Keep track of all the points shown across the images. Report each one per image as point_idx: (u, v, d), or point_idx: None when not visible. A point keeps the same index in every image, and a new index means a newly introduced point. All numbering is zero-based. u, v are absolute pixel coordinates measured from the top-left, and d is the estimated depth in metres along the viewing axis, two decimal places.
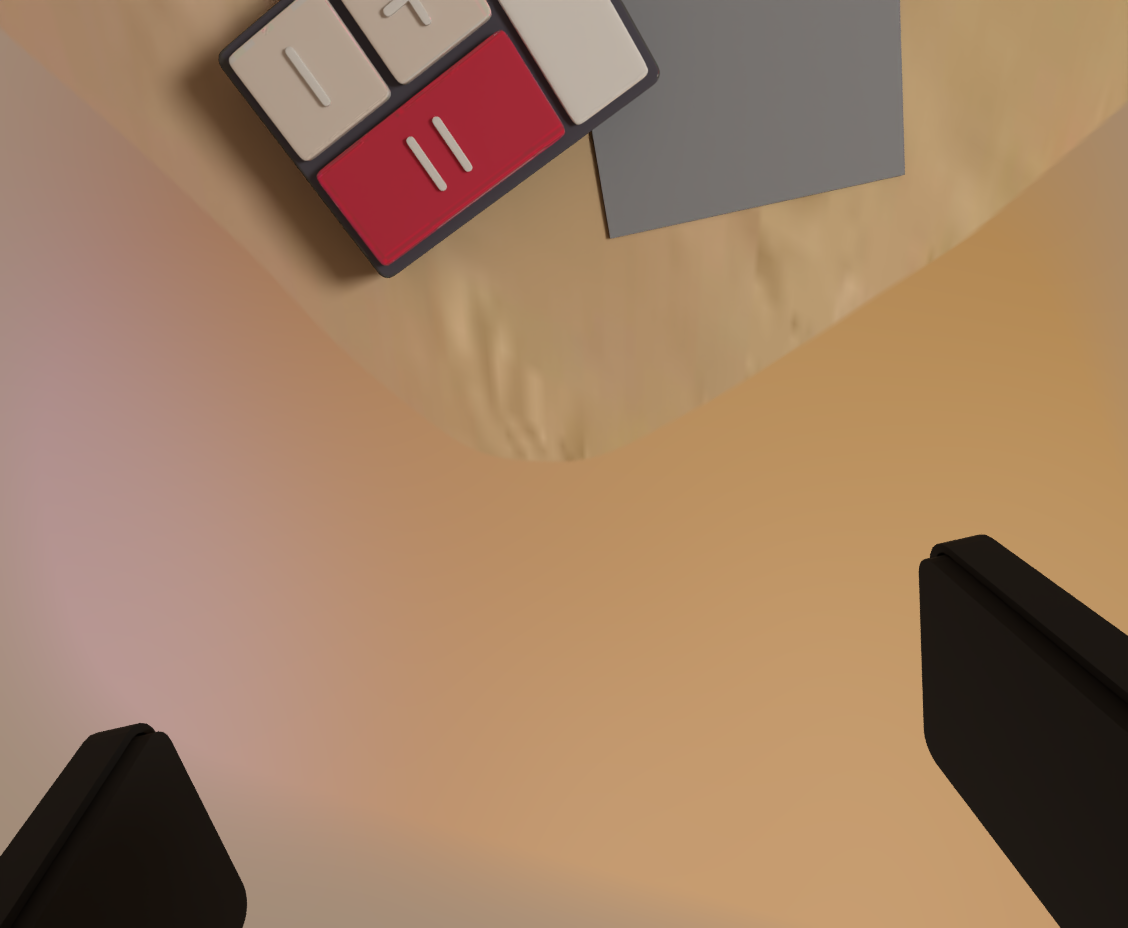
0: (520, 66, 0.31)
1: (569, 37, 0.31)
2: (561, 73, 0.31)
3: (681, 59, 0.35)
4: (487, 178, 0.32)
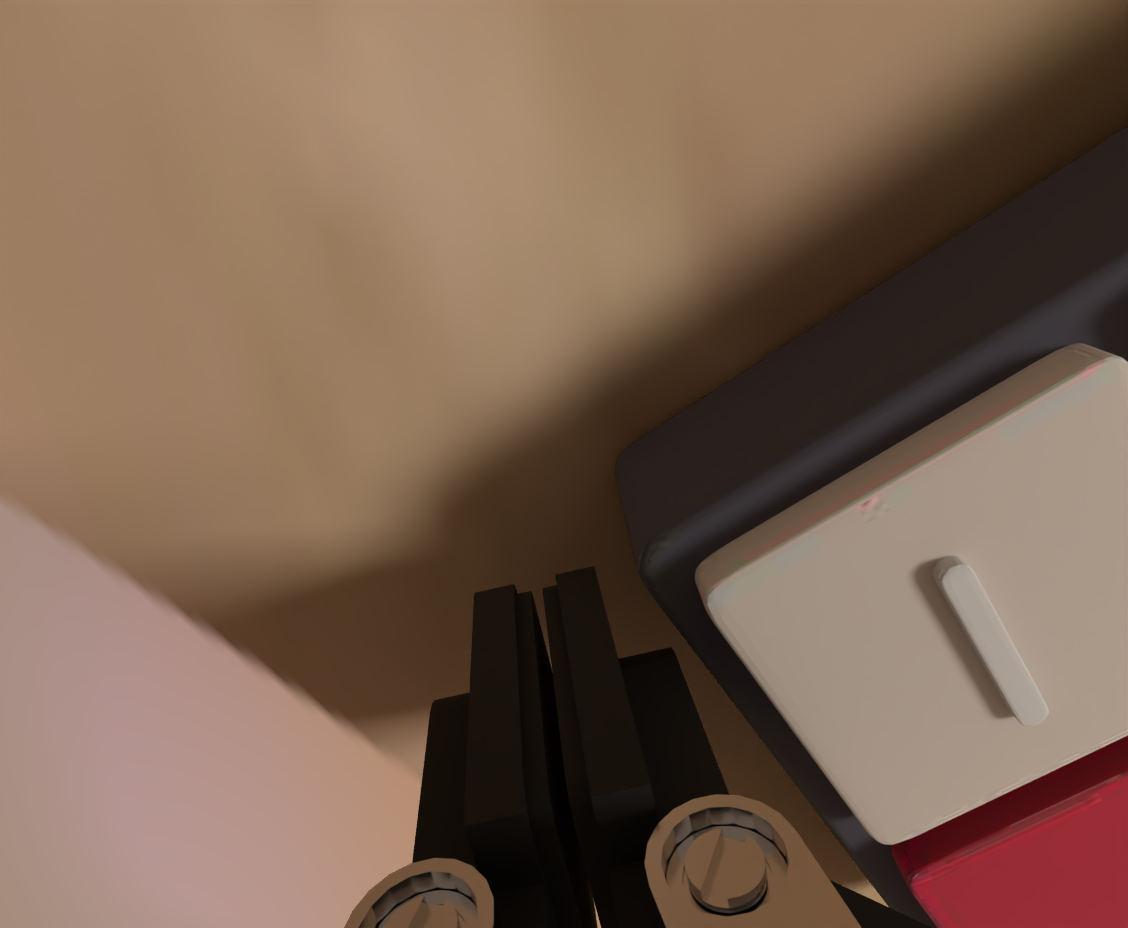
0: None
1: None
2: None
3: None
4: None
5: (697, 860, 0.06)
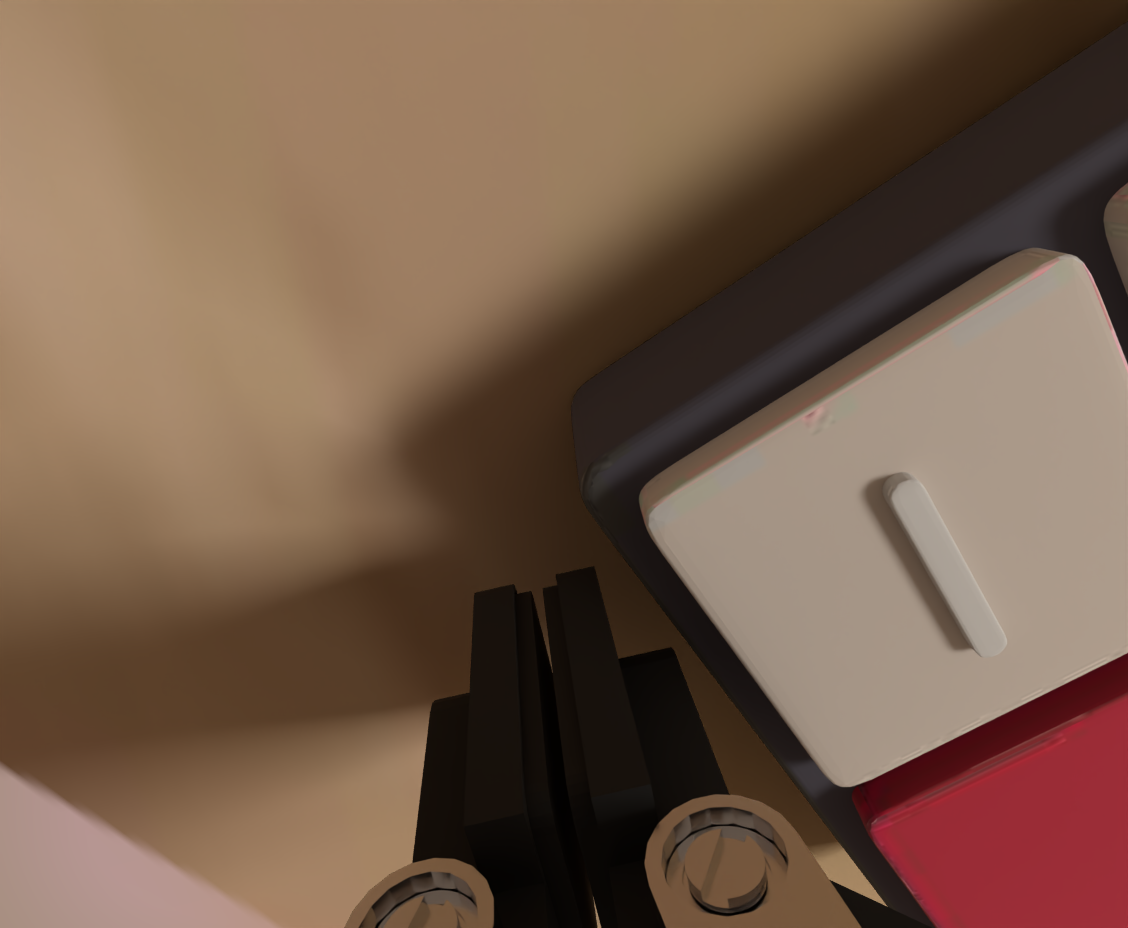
0: None
1: None
2: None
3: None
4: None
5: (697, 860, 0.06)
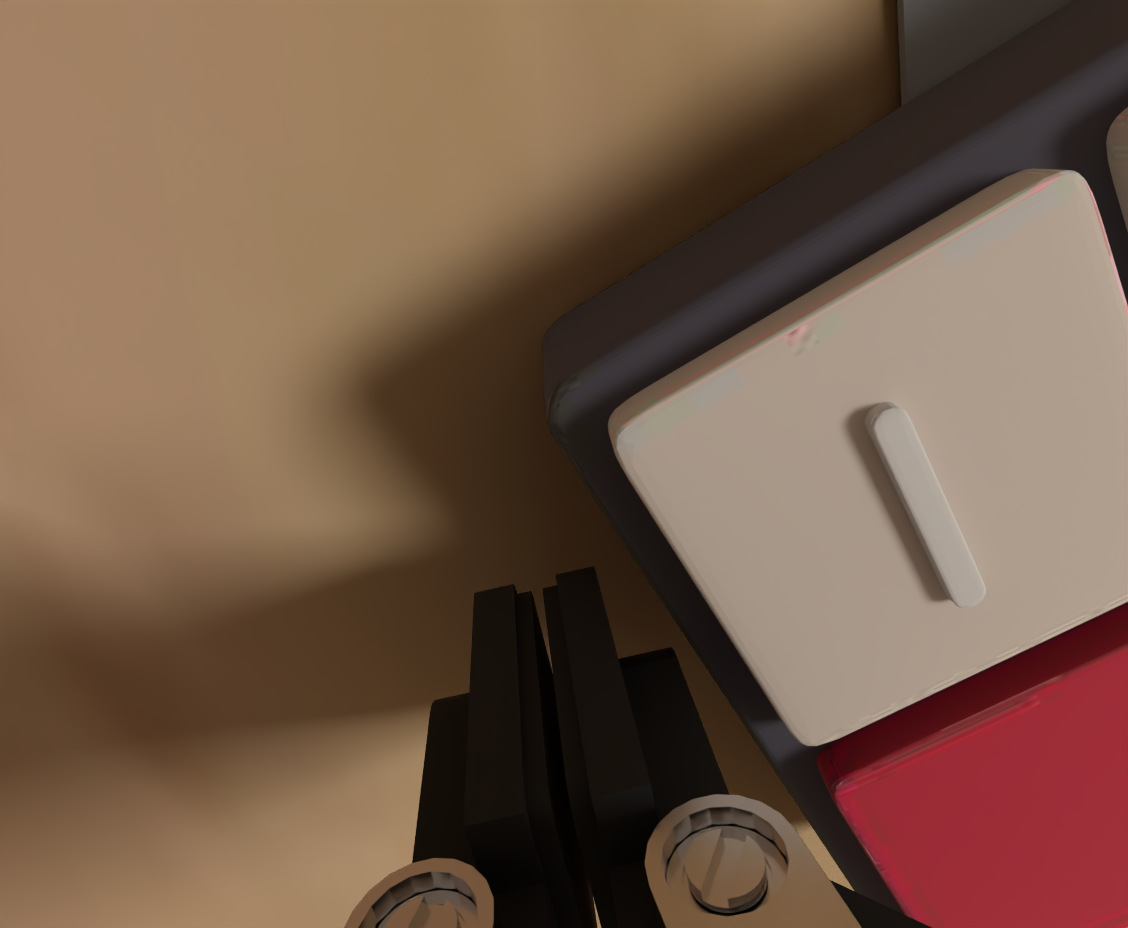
0: None
1: None
2: None
3: None
4: None
5: (697, 860, 0.06)
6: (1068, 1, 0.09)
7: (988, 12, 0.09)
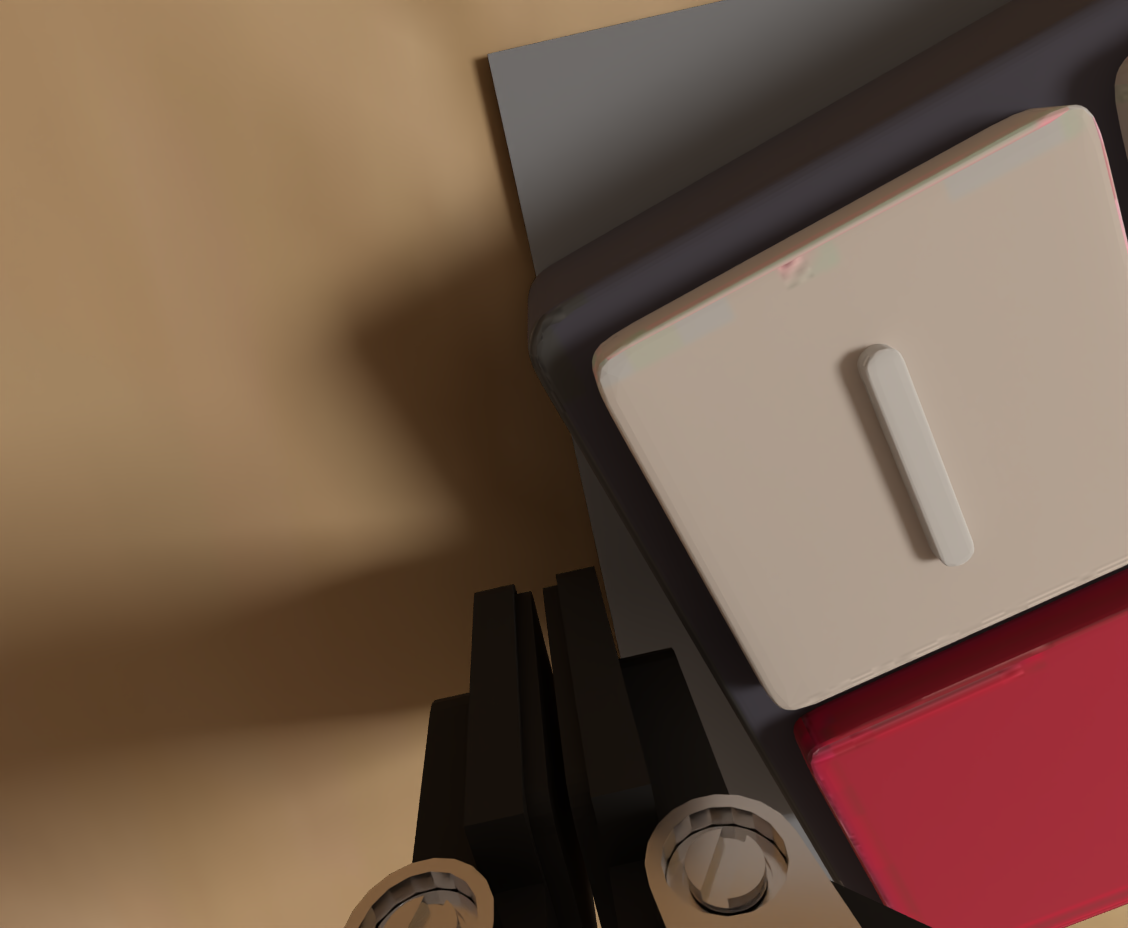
0: None
1: None
2: None
3: None
4: None
5: (697, 860, 0.06)
6: (670, 100, 0.09)
7: (594, 110, 0.09)
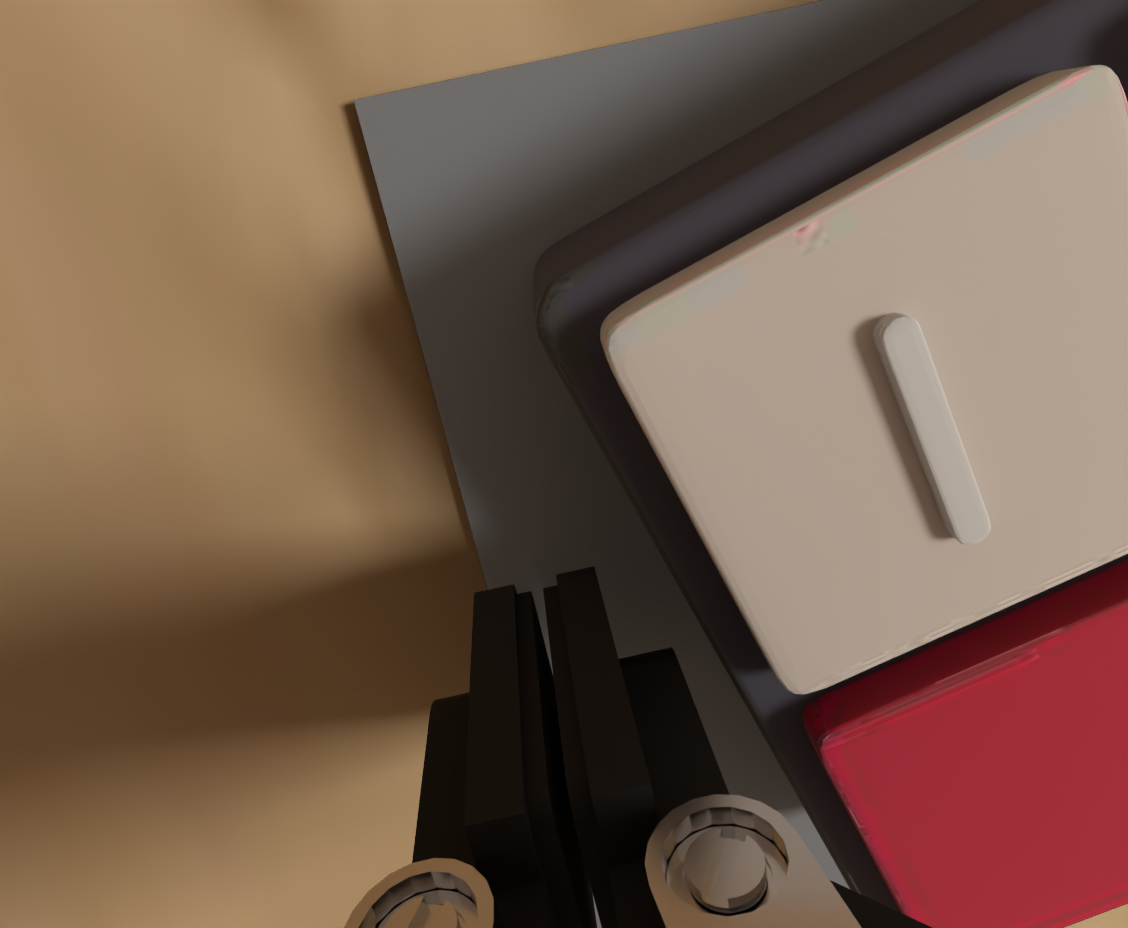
0: None
1: None
2: None
3: None
4: None
5: (697, 860, 0.06)
6: (542, 147, 0.09)
7: (466, 156, 0.09)
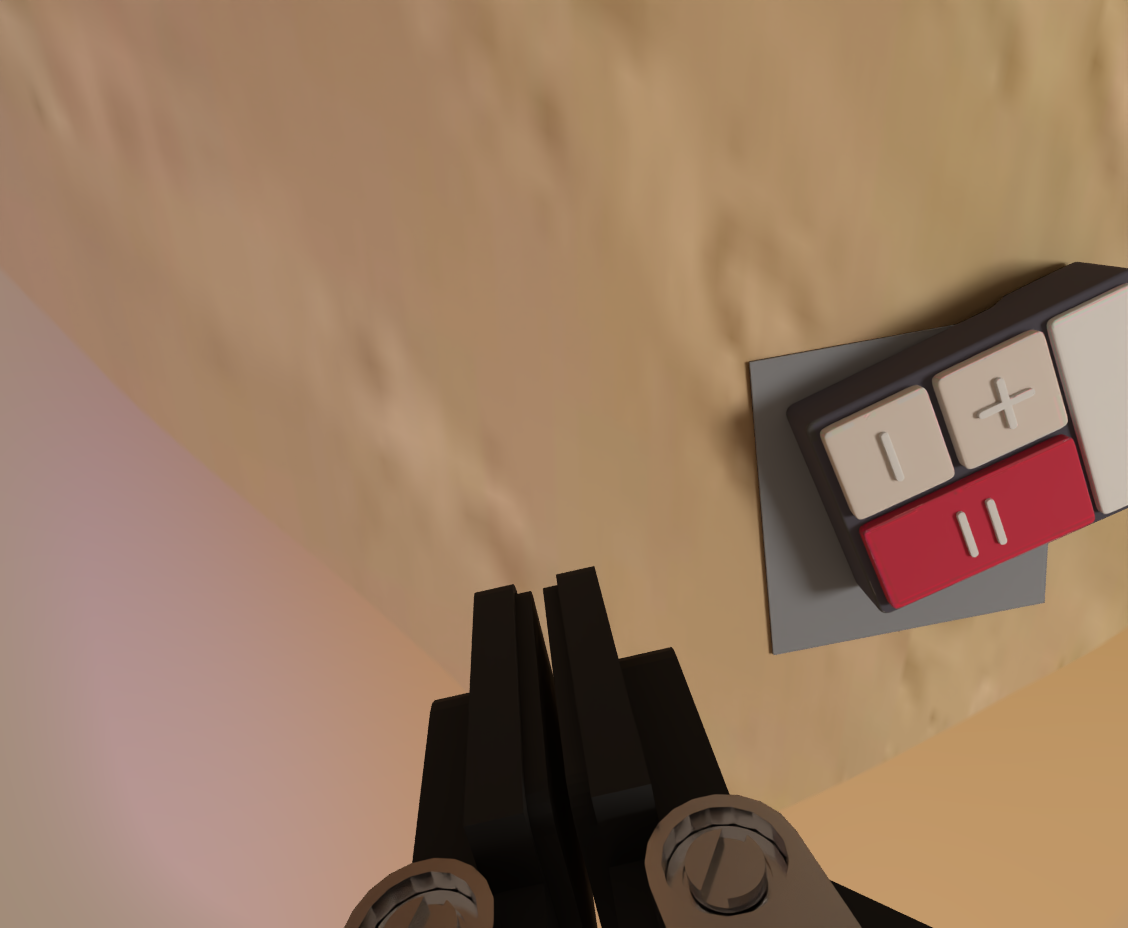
0: (1076, 467, 0.34)
1: (1122, 446, 0.34)
2: (1105, 474, 0.34)
3: None
4: (1014, 549, 0.35)
5: (696, 860, 0.06)
6: (794, 374, 0.35)
7: (774, 375, 0.35)
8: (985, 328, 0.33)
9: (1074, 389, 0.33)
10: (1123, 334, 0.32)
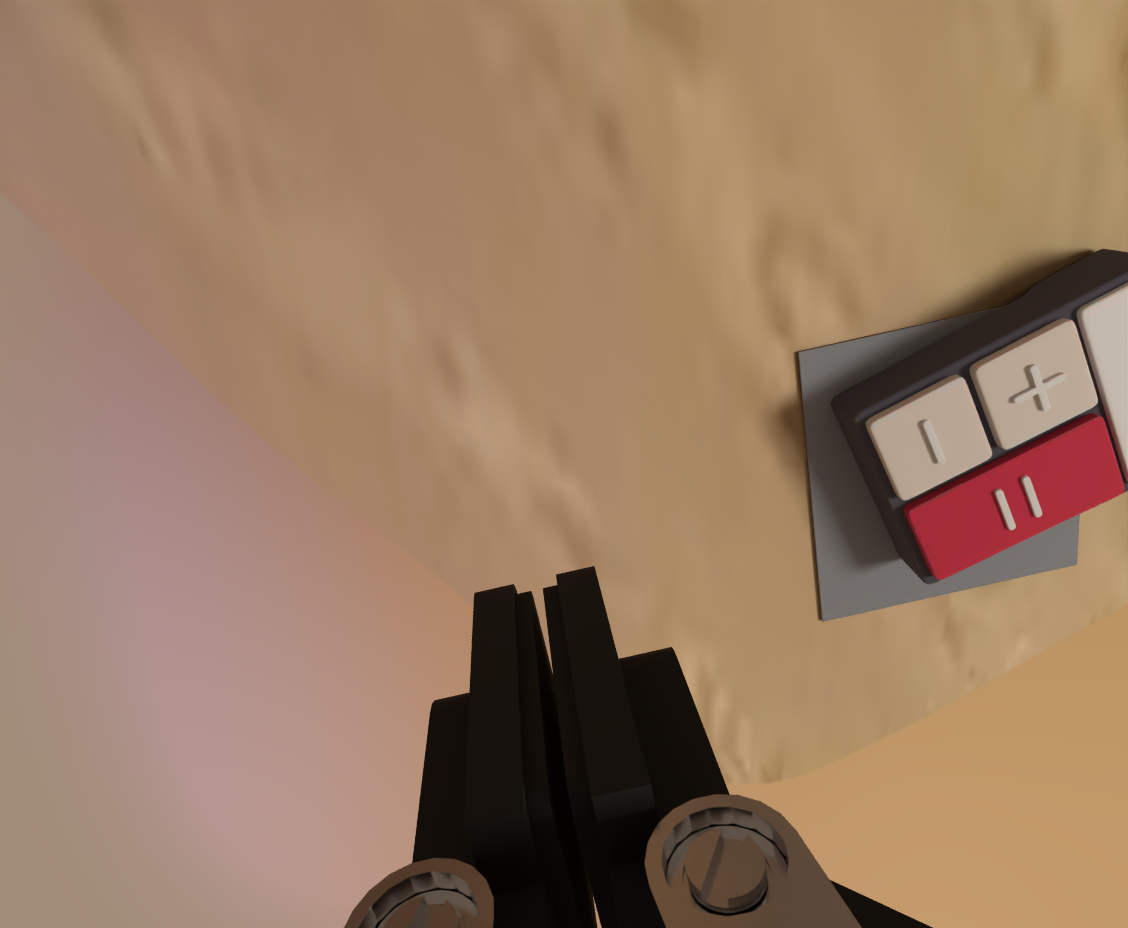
0: (1106, 443, 0.36)
1: None
2: None
3: None
4: (1048, 521, 0.38)
5: (697, 860, 0.06)
6: (841, 361, 0.38)
7: (821, 363, 0.38)
8: (1018, 318, 0.35)
9: (1103, 371, 0.35)
10: None
